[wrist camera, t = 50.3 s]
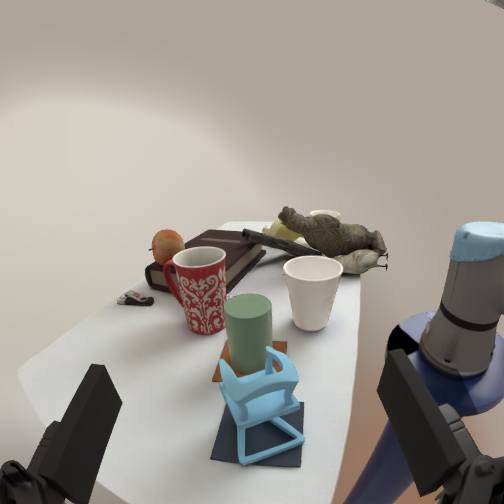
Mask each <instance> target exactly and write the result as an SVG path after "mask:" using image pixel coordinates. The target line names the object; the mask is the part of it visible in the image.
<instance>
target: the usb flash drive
mask: <svg viewBox="0 0 504 504" xmlns="http://www.w3.org/2000/svg"><path fill="white" fill-rule="evenodd" d="M124 295H125V297H120V298H119V300H118V301H117V303H118V304H125V305H152V303H153V302H154V299H153V297H146V296H143V295H141V294H139V293H137V292H134V291H132V290H131V291H129V292H127V293H125V294H124Z"/></svg>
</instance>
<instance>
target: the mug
mask: <svg viewBox="0 0 504 504" xmlns="http://www.w3.org/2000/svg"><path fill="white" fill-rule="evenodd" d="M225 257H226V253H225V251H224V250H222V249H220V248H216V247H194V248H189V249H186V250H183V251H181V252H179V253H177V254H176V255H175V256H174V257H173V259H172V260H169V261H168V262H166V263H165V265H164V267H163V273H164V278H165V281H166V283H167V285H168V287H169V289H170V291H171V292H172V294H173V295H174V296H175V298H176V299H177V300H178V302H179V303H180V304H181V305H182V306H183V308H184V310H185V314H186V318H187V322H188V326H189V328H190V329H191V330H192V331H193V332H195V333H198V334H213V333H216V332H218V331H220V330H222V329H223V328H224V327H225V326H226V323H225V315H224V304H225V302H226V275H225ZM170 265H172V266H174V267H175V270H176V275H177V279H178V284H179V288H180V290H179V289H178V287H177V286H176V284H175V282H174V281H173V278H172V276H171V273H170Z"/></svg>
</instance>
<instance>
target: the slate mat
mask: <svg viewBox="0 0 504 504" xmlns="http://www.w3.org/2000/svg"><path fill="white" fill-rule="evenodd" d="M299 403H300V409H299V410H297V411H294V412H292V413H289V414H286V415H283V416H279V417H280V418H281V419H282V420H284V421H285V422H286V423H288V424H289V425H291V426H292V427H293V428H295V429H296V430H297V431H299V432H300V433H301V434H302V435H303V417H304V402H299ZM292 440H295V439H294V438H293V437H291V436H290V435H288V434H287V433H285V432H284V431H283V430H281V429H280V428H278V427H277V426H276V425H274V424H273V423H271V422H270V421H269V420H268V421H265V422H262V423H260V424H257V425H255V426H252V427H249V428H246V429H245V456H250V455H253V454H256V453H259V452H262V451H265V450H268V449H271V448H274V447H276V446H279V445H282V444H285V443H287V442H290V441H292ZM301 453H302V444H301V445H299V446H296V447H294V448H292V449H289V450H287V451H284V452H281V453H279V454H276V455H273V456H271V457H268V458H265V459H262V460H259V461H257V462H254V463H251V465H263V466H278V467H301ZM210 459H213V460H219V461H226V462H233V463H240V462H239V457H238V443H237V425H236V422H235V420H234V418H233V416H232V414H231V411H230V409H229V407H228V405H227V403H226V407H225V410H224V414H223V417H222V420H221V424H220V427H219V430H218V434H217V437H216V440H215V444H214V447H213V450H212V454H211V457H210Z"/></svg>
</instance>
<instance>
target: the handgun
mask: <svg viewBox="0 0 504 504" xmlns="http://www.w3.org/2000/svg"><path fill="white" fill-rule="evenodd" d="M241 239H243V240H247V241H251V242H255V243H257V244H260V245H264V246H268V247H272V248H277V249H281V250H284V251H286V252H288V253H291V254H293V255H296V256H299V254H301V255H302V256H303V255H305V256H322V253H321V252H318V251H316V250H313V249H310V248H307V247H304V246H302V245H300V244H297V243H295V242H292V241H289V240H285V239H282V238H278V237H274V236H271V235H267V234H263V233H259V232H256V231H252V230H248V229H243V232H242V235H241Z"/></svg>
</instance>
